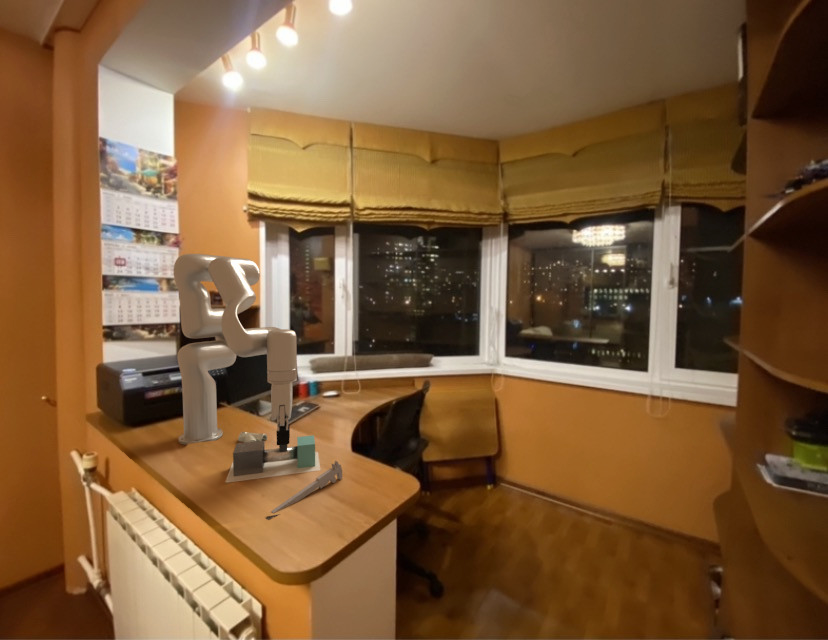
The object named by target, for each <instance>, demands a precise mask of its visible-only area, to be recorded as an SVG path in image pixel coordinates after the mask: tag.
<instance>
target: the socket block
mask: <svg viewBox="0 0 828 640" xmlns="http://www.w3.org/2000/svg"><path fill="white" fill-rule="evenodd" d="M296 440H297V441H296V442H297V443H296V444H297V445H296V446H297V455H298V468H304V467H312V466H315V452H316V440H315V435H313V434H311V435H305V436H297V437H296Z"/></svg>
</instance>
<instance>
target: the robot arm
mask: <svg viewBox="0 0 828 640" xmlns="http://www.w3.org/2000/svg"><path fill="white" fill-rule="evenodd" d="M260 277H261V272H260V268H259V266H258V264H257V263H256V262H255V261H253V260H252V259H249V258H243V257H242V258H241V257H234V256H233V257H232V256H224V255H214V254H213V255H212V254H205V253H184V254H182V255H180V256H178V257H177V258H176V260H175V262H174V265H173V279H174V281H175V284H176V288H177V291H178V295H179V309H180V324H181V331H182V333H183V335H184V337H186V338H189V339H204V338H205V339H206V338H214V339H215V340H211V341H209V340H207V341H201V342H200V341H199V342H192V343H187V344H185V345H183V346H182V347H180V349H179V350H178V352H177V355H176V356H177V357H176V358H177V363H178V367H179V372H180V376H181V377H180V379H181V386H182V387H181V389H182V391H181V393H182V414H183V415H182V417H183V433H182V434H180V436H179V437H178V443H180V444H181V445H186V446H188V444H195V443H197V444H198V443H204V442H214V441H217V440H219V439H220V438H221V437H223V433H224V432H223V430H222V429H221V428H218V414H217V413H218V411H217V410H218V409H217V408H218V407H217V385H216V384H217V383H216V381H215V379H214V378H213V377H212V376H211V374H210V373H209V371H212V370H213V371H214V370H219V369H223V368H228V367H230V366H233V365H234V363H235V362H236V359H237V356H238V357H241V358H248V357H249V358H250V357H255V356H261V355H266V365H267V367H266V369H267V370H266V373H267V376H266V377H267V383H269V384H271V387H270V389H271V390H270V399H271V400H270V405H271V406H270V407H271V410H270V411H271V412H270V416H271V417H270V420H271V421H272V422H274V421H277V423H276V425H277V426H276V428H277V430H276V445H277V446H279V445H286V444H287V445H289V444H290V437H291V436H290V435H291V432H290V431H291V430H290V421H289V420H290V419H291V418H292V417H291V416H292V408H293V383H294V382H297V381H298V367H297V366H298V360H297V358H298V356H297V355H298V354H297V334H296V331H295V330H292V329H288V328H287V329H286V328H285V329H283V328H279V327H275V326H264V327H251V328H244V326H243V325H242V323H241V322H240V320H239V317H238V315H239V314H241V313H243V312H244V311H246V310H248V309H249V308H251V307H252V306H253V304H255V302H256V300H257V295H256V293H255V291H254V289H253V287H252V286H255V285H256V284H258V282H259V281H260V279H261V278H260ZM202 282H209V283H210V282H211V283H213V284H214V286H215V288H216V289H217V291H218V294H219V296H220V298H221V300H222V302H223V303H224V305H225V308H223V307H222V308H221V307H220V308H217V307H216V308H215V307H214V308H212V306H211V305H212V304H211V295H210V292H209V290H208V289H207V288H206V286H205V285H204V284H203V283H202Z"/></svg>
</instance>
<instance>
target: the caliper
mask: <svg viewBox="0 0 828 640" xmlns="http://www.w3.org/2000/svg"><path fill="white" fill-rule="evenodd" d="M336 478H337V479H336ZM337 480H339V481H341V480H343V469H342V465H341V464H340V463H339V461H338V460H335V461H334V463H331V467H330V468H329V469H327V470H326V471H324V472H323V473H322V474H320V475H319V476H317V477H316V479H315V480H314V481H312V482H311V483H310V484H308V485H306V486H305V487H304V488H302V489H301V490H300V491H298V492H297V493H295V494H293V496H291V497H289V498H288V499H286V500H285V501H284V502H282V503H281V504H279V505H278V506H276V507H274V508H273V509H272V510H271V511H270V512H271V513H272V514H273V515H267V516H266V517H265V519H266V520H267V521H270V520H272V519H273V518H276V517H278V516H281V514H280V513H279V514H275V513H277V512H279V511H281V510H283V509H286V508H287V507H290V506H291V505H293V504H295V503H297V502H299V501H301V500H303V499H304V498H305V497H307V496H308V495H310V494H311V493H313V492H314V491H315V490H317V489H318V488H320V489H322V488H323V487H325V486H327V485H328V484H329V482H330V483H332V484H335V483H337Z"/></svg>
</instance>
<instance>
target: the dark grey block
mask: <svg viewBox="0 0 828 640" xmlns="http://www.w3.org/2000/svg"><path fill="white" fill-rule="evenodd" d="M263 450H266V449H265V440H262V441H254V442H245V443H244V442H238V443H237V442H236V443H235V446H234V449H233V452H232V463H233V473H234V476H242V475H249V474H257V473H263V470H264V464H265V463H263Z"/></svg>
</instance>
